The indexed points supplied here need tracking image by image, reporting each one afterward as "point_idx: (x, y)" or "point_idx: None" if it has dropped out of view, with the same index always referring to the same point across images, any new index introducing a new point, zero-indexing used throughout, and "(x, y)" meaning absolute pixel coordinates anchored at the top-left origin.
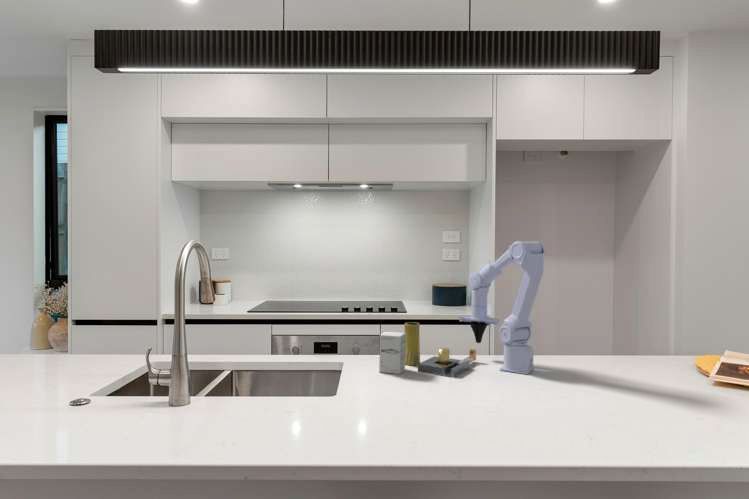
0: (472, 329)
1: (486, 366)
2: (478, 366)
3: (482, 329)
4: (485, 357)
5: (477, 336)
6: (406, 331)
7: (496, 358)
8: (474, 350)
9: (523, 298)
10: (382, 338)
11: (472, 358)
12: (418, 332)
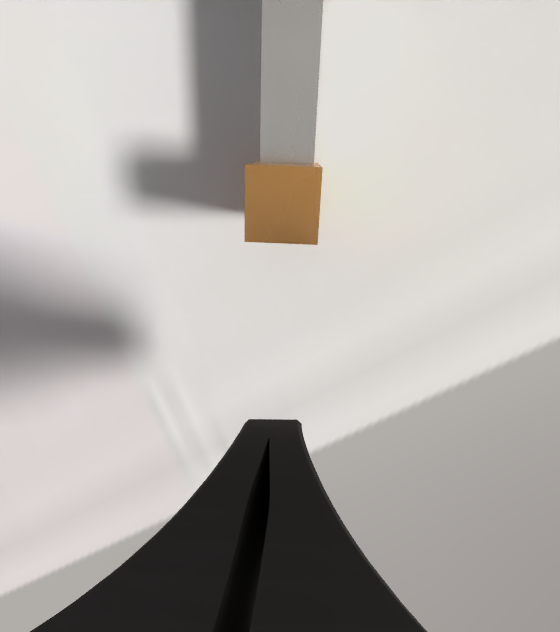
0: (385, 584)
1: (99, 88)
2: (168, 33)
3: (80, 599)
4: None
5: (271, 484)
6: None
7: (156, 431)
8: (246, 174)
9: None
10: None
11: (262, 109)
12: None
